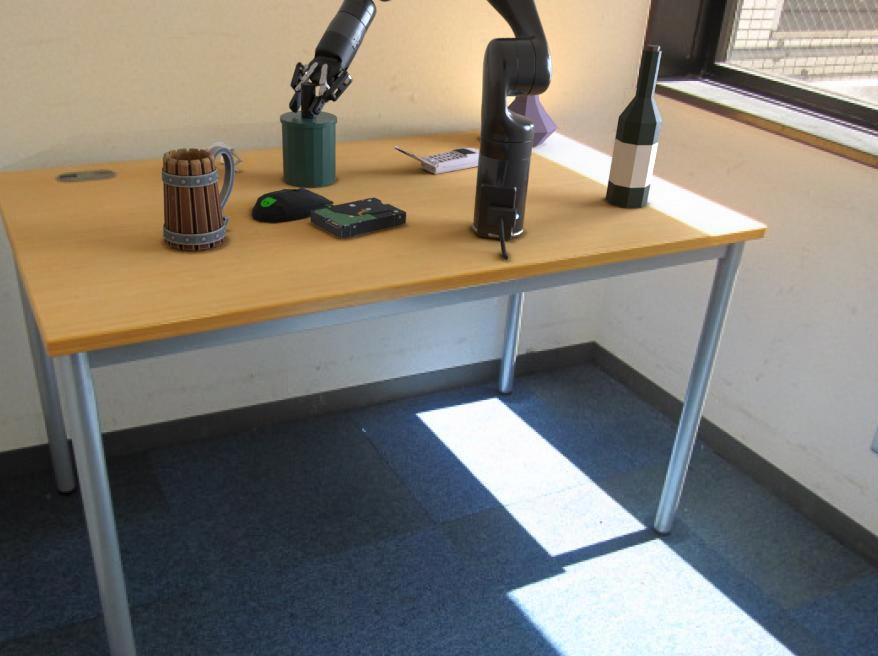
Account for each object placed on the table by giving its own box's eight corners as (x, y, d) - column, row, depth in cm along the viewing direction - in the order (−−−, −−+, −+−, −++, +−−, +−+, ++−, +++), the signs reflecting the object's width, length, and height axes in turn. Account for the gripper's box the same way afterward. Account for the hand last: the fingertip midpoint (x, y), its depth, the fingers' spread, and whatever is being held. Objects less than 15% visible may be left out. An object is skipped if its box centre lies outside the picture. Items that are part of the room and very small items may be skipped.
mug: (197, 257, 147) (189, 167, 139) (150, 243, 151) (141, 155, 144) (257, 231, 158) (254, 147, 150) (213, 219, 163) (207, 137, 155)
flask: (486, 148, 213) (494, 60, 203) (491, 132, 227) (499, 49, 217) (555, 153, 211) (566, 65, 201) (556, 137, 225) (566, 53, 215)
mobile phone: (392, 145, 189) (481, 131, 202) (391, 173, 192) (479, 157, 205) (408, 153, 185) (498, 138, 198) (407, 180, 188) (496, 164, 201)
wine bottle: (647, 210, 177) (677, 50, 161) (605, 206, 178) (631, 47, 163) (645, 197, 184) (674, 43, 168) (605, 193, 185) (630, 40, 170)
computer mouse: (235, 212, 167) (233, 191, 165) (300, 194, 177) (300, 174, 175) (274, 227, 160) (273, 206, 158) (339, 208, 171) (340, 187, 169)
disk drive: (373, 210, 171) (309, 223, 163) (373, 196, 169) (309, 209, 161) (407, 226, 164) (341, 240, 156) (407, 211, 163) (342, 225, 154)
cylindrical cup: (325, 189, 181) (325, 130, 174) (275, 183, 183) (273, 124, 177) (342, 175, 190) (342, 118, 183) (294, 170, 192) (293, 113, 186)
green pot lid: (326, 133, 174) (326, 91, 170) (271, 128, 177) (269, 86, 173) (344, 121, 184) (344, 80, 180) (292, 115, 186) (291, 75, 182)
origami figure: (246, 176, 187) (245, 152, 184) (206, 178, 184) (204, 154, 182) (236, 160, 196) (235, 138, 194) (198, 162, 194) (196, 139, 191)
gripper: (305, 25, 180) (266, 95, 178) (360, 33, 173) (320, 106, 171) (323, 50, 187) (285, 117, 184) (376, 59, 179) (337, 130, 177)
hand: (302, 112), depth 178 cm, fingers open, 4 cm apart
